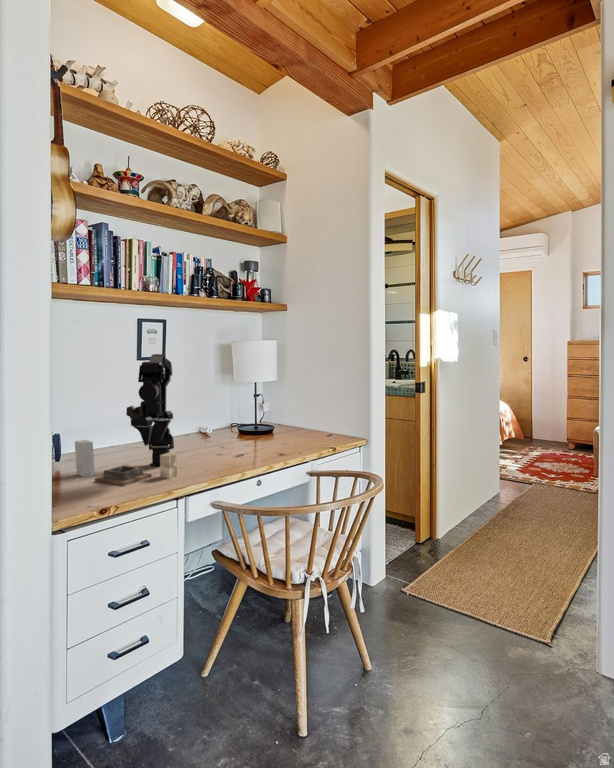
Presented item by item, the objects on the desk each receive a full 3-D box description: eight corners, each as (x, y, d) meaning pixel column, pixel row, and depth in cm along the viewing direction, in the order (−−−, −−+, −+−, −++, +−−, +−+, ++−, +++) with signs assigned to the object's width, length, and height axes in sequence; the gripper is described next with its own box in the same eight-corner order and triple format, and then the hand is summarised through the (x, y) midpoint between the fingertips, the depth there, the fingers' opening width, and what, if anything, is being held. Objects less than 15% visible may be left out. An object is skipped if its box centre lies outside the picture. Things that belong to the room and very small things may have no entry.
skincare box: (95, 475, 176) (94, 441, 175) (82, 477, 173) (81, 443, 172) (87, 472, 180) (86, 439, 180) (75, 474, 177) (74, 441, 176)
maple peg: (167, 474, 177) (167, 452, 176) (176, 476, 175) (176, 453, 175) (160, 477, 173) (160, 455, 173) (169, 478, 172) (169, 456, 171)
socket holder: (123, 473, 179) (122, 463, 179) (151, 476, 174) (151, 466, 174) (94, 481, 167) (94, 471, 167) (124, 485, 162) (124, 475, 162)
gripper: (145, 395, 181) (146, 437, 183) (115, 400, 163) (116, 447, 164) (173, 395, 179) (174, 438, 180) (146, 401, 161) (147, 448, 162)
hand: (153, 442), depth 172 cm, fingers open, 9 cm apart
